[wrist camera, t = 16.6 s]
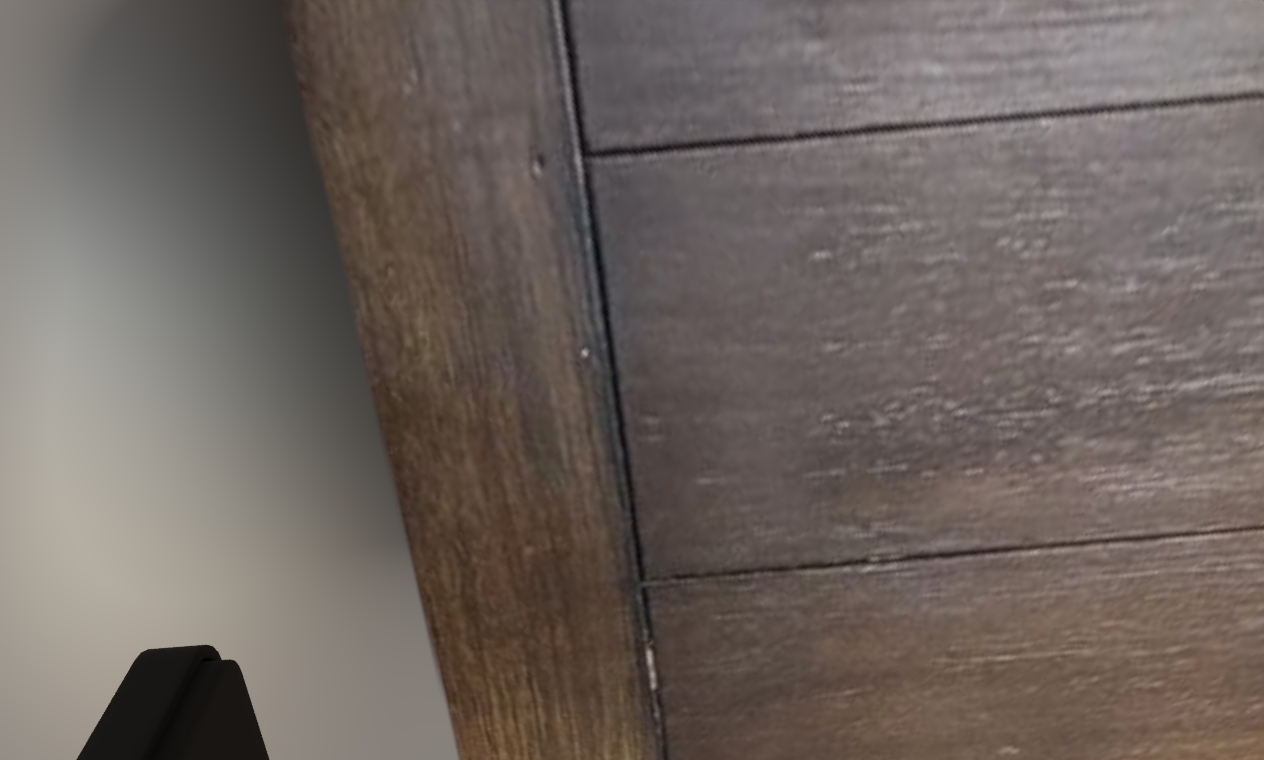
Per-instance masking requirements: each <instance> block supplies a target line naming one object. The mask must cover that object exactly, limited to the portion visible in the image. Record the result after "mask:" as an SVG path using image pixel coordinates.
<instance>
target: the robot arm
mask: <svg viewBox="0 0 1264 760" xmlns="http://www.w3.org/2000/svg"><path fill="white" fill-rule="evenodd" d="M77 760H269V757H268V754H267V751H266V748H265V744H264V741H263V738H262V735H261V732H260V729H259V726H258V722H257V719H256V716H255V713H254V709H253V706H252V703H251V700H250V697H249V694H248V690H247V687H246V684H245V681H244V678H243V675H242V672H241V669H240V667H239V665H238V664H237V663H236V662H235V661H234V660H222V659H221V657H220V655H219V653H218V651H216V649H215V648H214V647H213V646H209V645H198V646H185V647H173V648H159V649H148V650H146V651H144V652H142V653H140V655H139V656H138V657H137V658H136V660H135V661H134V663H133V664H132V666H131V668H130V669H129V671H128V673H127V674H126V676H125V678H124V680H123V681H122V683H121V685H120V686H119V688H118V690H117V692H116V693H115V695H114V697H113V698H112V700H111V702H110V704H109V705H108V707H107V709H106V710H105V712H104V714H103V715H102V717H101V719H100V721H99V722H98V724H97V726H96V727H95V729H94V731H93V732H92V734H91V736H90V738H89V739H88V741H87V743H86V745H85V746H84V748H83V750H82V751H81V753H80V755H79V756H78V758H77Z"/></svg>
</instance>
